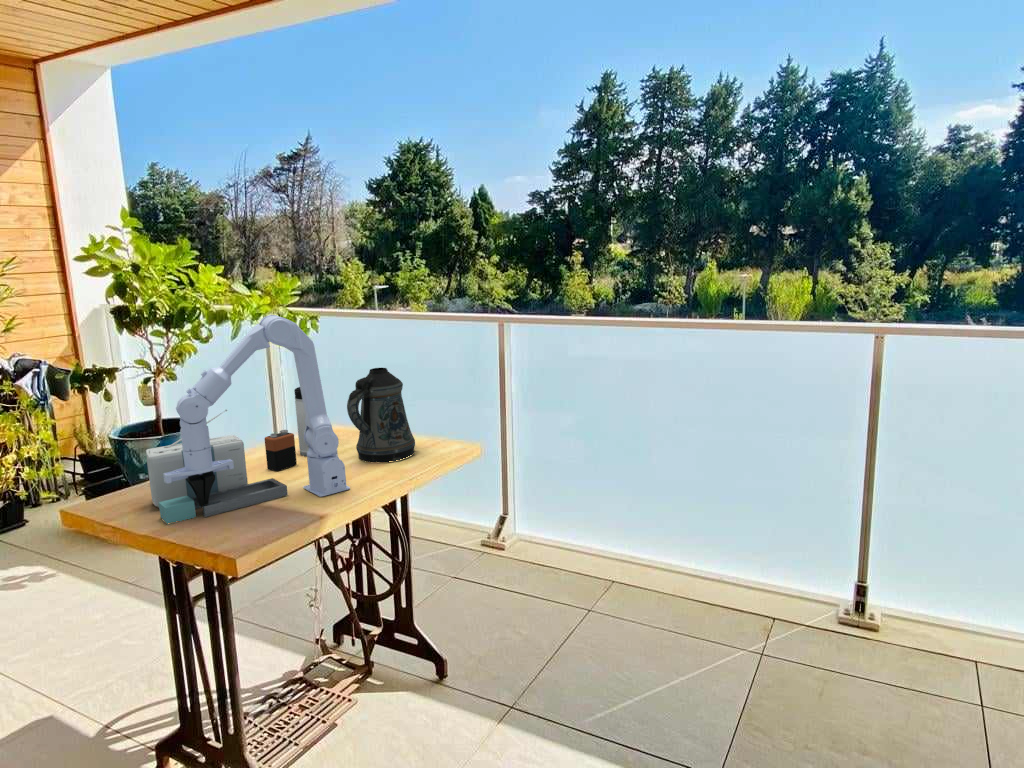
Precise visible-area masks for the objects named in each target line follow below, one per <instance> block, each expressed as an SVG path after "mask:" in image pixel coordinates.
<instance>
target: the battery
mask: <svg viewBox="0 0 1024 768" xmlns="http://www.w3.org/2000/svg"><path fill="white" fill-rule="evenodd" d="M263 439H264V449H265V456H266V465H267V466H266V468H267V470H268V471H269V470H270V471H272V472H273V471H274V472H281V471H282V470H286V469H289V468H293V467H295V466H296V465H297V464H298V463H297V452H296V441H295V434H294V433H292V432H289V430H288V429H282V430H280V431H279V432H278V433H276V432H275V433H274V432H273V433H270V435H268V436H265V437H264V438H263Z"/></svg>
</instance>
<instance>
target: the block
mask: <svg viewBox="0 0 1024 768" xmlns="http://www.w3.org/2000/svg"><path fill="white" fill-rule="evenodd" d="M158 509H159V515H160V516H159V517H160V519H161V518H162V519H163V520H164V521H165V522H166V523H167V524H168V523H171V522H176V521H180V522H183V521H182V520H184V521H187V520H186V519H188V520H191V518H192V519H194V517H196V518H197V515H196V509H195V505H194V501H193V500H192V499H191V498H190V497H188V496H183V497H179V498H175V499H170V500H166V501H162V502H159V508H158ZM162 519H161V520H162ZM163 520H162V521H163ZM164 521H163V522H164ZM165 522H164V523H165ZM166 523H165V524H166ZM176 523H177V522H176ZM167 524H166V525H167ZM168 525H169V524H168Z"/></svg>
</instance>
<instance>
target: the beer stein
mask: <svg viewBox="0 0 1024 768" xmlns="http://www.w3.org/2000/svg"><path fill="white" fill-rule="evenodd" d="M403 386H404V383H403V382H402V380H401V379H399V378H398V377H397V376H395V375H394V374H393V373H391V372H390V371H389V370H388V368H387V367H375V368H371V369H369V372H368V374H367V375H366V376H365V377H362V378H360V379H357V381H356V382H355V389H354V390H352V391H351V392H350V394H349V395H348V398H347V403H346V411H347V415H348V417H349V420H350V421H351V423H352V425H354V427H355V428H356V429H357V430H358V431H359V434H358V435H359V436H358V440H357V443H356V447H355V449H356V452H357V454H358V459H359V460H360V459H361V461H363V462H365V461H366V463H371V462H388V463H390V462H389V461H396V460H400V459H403V458H406V457H408V456H410V455H412V454H413V453H414V454H415V447H416V440H415V437H414V436H413V433H412V431H411V428H410V425H409V421H408V418H407V414H406V409H405V404H404V403H405V402H404V399H403V395H402V394H403V393H402V391H403ZM360 403H361V405H360ZM359 406H360V409H359ZM359 410H360V411H359ZM414 454H413V455H414ZM413 455H412V456H413ZM396 462H397V461H396Z"/></svg>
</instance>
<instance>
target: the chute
mask: <svg viewBox="0 0 1024 768" xmlns="http://www.w3.org/2000/svg"><path fill="white" fill-rule="evenodd" d="M286 495H288V485H286V484H284V483H283V482H280V481H279V480H277V479H276V478H273V477H271V478H268V479H264V480H260V481H259V480H258V481H255V482H251V483H248V484H247V485H242V486H238V487H234V488H230V489H226V490H222V491H218V492H214V493H210V496H209V502H208V504H205V505H202V507H201V506H199V503H198V500H197V497H193V498H192V500H193V501H194V505H195V510H197V509H202V514H203V515H202V516H203V517H204V518H208V517H211V516H216V515H219V514H223V513H226V512H231V511H234V510H239V509H242V508H245V507H249V506H253V505H257V504H261V503H265V502H268V501H273V500H276V498H277V499H280V498H283V497H282V496H284V497H287V496H286ZM288 496H289V495H288ZM279 497H280V498H279ZM272 499H273V500H272Z"/></svg>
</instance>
